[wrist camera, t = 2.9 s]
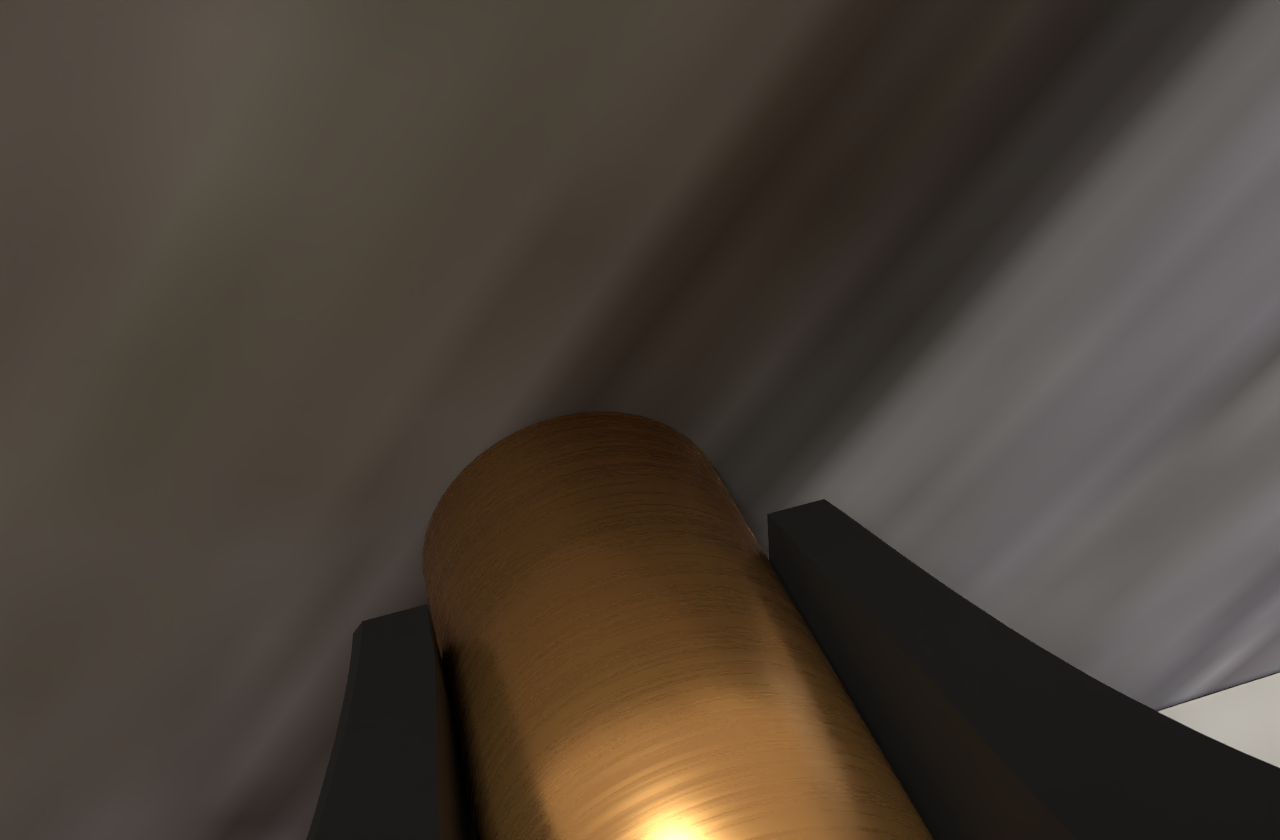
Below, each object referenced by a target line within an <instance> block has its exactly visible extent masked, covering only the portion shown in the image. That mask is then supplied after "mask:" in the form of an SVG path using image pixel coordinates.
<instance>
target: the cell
mask: <svg viewBox="0 0 1280 840" xmlns="http://www.w3.org/2000/svg"><path fill="white" fill-rule="evenodd" d="M423 572H424V577H425V583H426V588H427V593H428V598H429V603H430V609H431V614H432V619H433V624H434V629H435V634H436V639H437V644H438V648H439V651H440V655H441V659H442V663H443V669H444V674H445V679H446V684H447V689H448V694H449V699H450V704H451V709H452V714H453V719H454V724H455V730H456V735H457V741H458V748H459V756H460V761H461V766H462V772H463V777H464V782H465V788H466V793H467V798H468V803H469V808H470V813H471V818H472V823H473V829H474V834H475V839H476V840H934V839H933V838H932V836H931V834H930V832H929V831H928V829H927V827H926V826H925V824H924V822H923V821H922V819H921V817H920V816H919V814H918V812H917V810H916V809H915V807H914V805H913V804H912V802H911V800H910V799H909V797H908V795H907V794H906V792H905V790H904V788H903V787H902V785H901V783H900V782H899V780H898V778H897V777H896V775H895V773H894V772H893V770H892V768H891V766H890V765H889V763H888V761H887V760H886V758H885V756H884V755H883V753H882V751H881V750H880V748H879V746H878V744H877V743H876V741H875V739H874V738H873V736H872V734H871V733H870V731H869V729H868V728H867V726H866V724H865V722H864V721H863V719H862V717H861V716H860V714H859V712H858V711H857V709H856V707H855V706H854V704H853V702H852V701H851V699H850V697H849V695H848V694H847V692H846V690H845V689H844V687H843V685H842V684H841V682H840V680H839V679H838V677H837V675H836V673H835V672H834V670H833V668H832V667H831V665H830V663H829V662H828V660H827V658H826V657H825V655H824V653H823V651H822V650H821V648H820V646H819V645H818V643H817V641H816V640H815V638H814V636H813V635H812V633H811V631H810V629H809V628H808V626H807V624H806V623H805V621H804V619H803V618H802V616H801V614H800V613H799V611H798V609H797V607H796V606H795V604H794V602H793V601H792V599H791V597H790V596H789V594H788V592H787V591H786V589H785V587H784V585H783V584H782V582H781V580H780V579H779V577H778V575H777V574H776V572H775V570H774V569H773V567H772V565H771V563H770V562H769V560H768V558H767V557H766V555H765V553H764V552H763V550H762V548H761V547H760V545H759V543H758V541H757V540H756V538H755V536H754V535H753V533H752V531H751V530H750V528H749V526H748V525H747V523H746V521H745V519H744V518H743V516H742V514H741V513H740V511H739V509H738V508H737V506H736V504H735V503H734V501H733V499H732V497H731V496H730V494H729V492H728V491H727V489H726V487H725V486H724V484H723V482H722V481H721V479H720V477H719V476H718V474H717V472H716V470H715V469H714V467H713V465H712V464H711V462H710V461H709V460H708V458H707V457H706V456H705V454H704V453H703V452H702V451H701V450H700V449H699V448H698V447H697V446H696V445H695V444H694V443H693V442H692V441H691V440H690V439H688V438H687V437H685V436H684V435H682V434H681V433H679V432H678V431H676V430H675V429H673V428H671V427H669V426H666V425H664V424H662V423H660V422H658V421H654V420H651V419H648V418H645V417H642V416H637V415H631V414H625V413H615V412H590V413H578V414H573V415H567V416H562V417H557V418H554V419H550V420H547V421H543V422H540V423H537V424H534V425H532V426H530V427H527V428H525V429H523V430H520V431H518V432H516V433H514V434H512V435H510V436H509V437H507V438H505V439H503V440H501V441H500V442H498V443H496V444H495V445H493V446H492V447H491V448H489V449H488V450H486V451H485V452H484V453H482V454H481V455H479V456H478V457H477V458H476V459H475V460H474V461H473V462H472V463H470V464H469V465H468V466H467V467H466V468H465V469H464V470H463V471H462V472H461V473H460V474H459V476H458V477H457V478H456V479H455V480H454V481H453V482H452V484H451V485H450V486H449V488H448V489H447V491H446V492H445V494H444V495H443V497H442V498H441V500H440V501H439V503H438V505H437V507H436V509H435V511H434V513H433V515H432V517H431V520H430V523H429V526H428V529H427V532H426V536H425V542H424V548H423Z"/></svg>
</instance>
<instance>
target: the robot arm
mask: <svg viewBox="0 0 1280 840" xmlns="http://www.w3.org/2000/svg"><path fill="white" fill-rule="evenodd" d="M767 516H768V538H769V561H770V563H771V565H772V567H773V569H774V570H775V572H776V574H777V575H778V577H779V579H780V580H781V582H782V584H783V585H784V587H785V589H786V591H787V592H788V594H789V596H790V597H791V599H792V601H793V602H794V604H795V606H796V607H797V609H798V611H799V613H800V614H801V616H802V618H803V619H804V621H805V623H806V624H807V626H808V628H809V629H810V631H811V633H812V635H813V636H814V638H815V640H816V641H817V643H818V645H819V646H820V648H821V650H822V651H823V653H824V655H825V657H826V658H827V660H828V662H829V663H830V665H831V667H832V668H833V670H834V672H835V673H836V675H837V677H838V679H839V680H840V682H841V684H842V685H843V687H844V689H845V690H846V692H847V694H848V695H849V697H850V699H851V701H852V702H853V704H854V706H855V707H856V709H857V711H858V712H859V714H860V716H861V717H862V719H863V721H864V722H865V724H866V726H867V728H868V729H869V731H870V733H871V734H872V736H873V738H874V739H875V741H876V743H877V744H878V746H879V748H880V750H881V751H882V753H883V755H884V756H885V758H886V760H887V761H888V763H889V765H890V766H891V768H892V770H893V772H894V773H895V775H896V777H897V778H898V780H899V782H900V783H901V785H902V787H903V788H904V790H905V792H906V794H907V795H908V797H909V799H910V800H911V802H912V804H913V805H914V807H915V809H916V810H917V812H918V814H919V816H920V817H921V819H922V821H923V822H924V824H925V826H926V827H927V829H928V831H929V832H930V834H931V836H932V838H933V839H934V840H1280V768H1279V767H1277V766H1274V765H1272V764H1270V763H1267V762H1265V761H1262V760H1260V759H1258V758H1255V757H1253V756H1251V755H1248V754H1246V753H1243V752H1241V751H1239V750H1237V749H1235V748H1232V747H1230V746H1228V745H1226V744H1224V743H1221V742H1219V741H1217V740H1215V739H1213V738H1210V737H1208V736H1206V735H1204V734H1202V733H1200V732H1198V731H1195V730H1193V729H1191V728H1189V727H1187V726H1185V725H1183V724H1181V723H1179V722H1177V721H1175V720H1173V719H1171V718H1169V717H1167V716H1165V715H1163V714H1161V713H1159V712H1157V711H1155V710H1153V709H1151V708H1149V707H1147V706H1145V705H1143V704H1141V703H1139V702H1137V701H1135V700H1133V699H1131V698H1129V697H1127V696H1126V695H1124V694H1122V693H1120V692H1118V691H1116V690H1114V689H1113V688H1111V687H1109V686H1107V685H1105V684H1103V683H1101V682H1100V681H1098V680H1096V679H1094V678H1092V677H1091V676H1089V675H1087V674H1085V673H1084V672H1082V671H1080V670H1079V669H1077V668H1075V667H1073V666H1072V665H1070V664H1068V663H1067V662H1065V661H1063V660H1061V659H1060V658H1058V657H1056V656H1055V655H1053V654H1051V653H1050V652H1048V651H1046V650H1044V649H1043V648H1041V647H1039V646H1038V645H1036V644H1035V643H1033V642H1031V641H1030V640H1028V639H1027V638H1025V637H1023V636H1022V635H1020V634H1019V633H1017V632H1015V631H1014V630H1012V629H1011V628H1009V627H1007V626H1006V625H1004V624H1003V623H1001V622H1000V621H998V620H997V619H995V618H994V617H992V616H991V615H989V614H988V613H986V612H985V611H983V610H982V609H980V608H979V607H977V606H976V605H974V604H973V603H971V602H970V601H968V600H967V599H965V598H963V597H962V596H960V595H959V594H957V593H956V592H954V591H953V590H951V589H950V588H949V587H947V586H946V585H944V584H943V583H941V582H940V581H938V580H937V579H936V578H934V577H933V576H931V575H930V574H928V573H927V572H926V571H924V570H923V569H921V568H920V567H918V566H917V565H916V564H914V563H913V562H911V561H910V560H909V559H907V558H906V557H904V556H903V555H902V554H900V553H899V552H897V551H896V550H895V549H893V548H892V547H890V546H889V545H888V544H886V543H885V542H884V541H882V540H881V539H879V538H878V537H877V536H875V535H874V534H873V533H871V532H870V531H868V530H867V529H866V528H864V527H863V526H861V525H860V524H859V523H857V522H856V521H855V520H853V519H852V518H850V517H849V516H848V515H846V514H845V513H844V512H842V511H841V510H839V509H838V508H836V507H835V506H834V505H832V504H831V503H829V502H828V501H826V500H825V499H823V500H819V501H816V502H812V503H808V504H804V505H800V506H797V507H793V508H789V509H785V510H782V511H778V512H774V513H770V514H767ZM306 840H476V839H475V834H474V829H473V823H472V818H471V813H470V808H469V803H468V798H467V793H466V788H465V782H464V777H463V772H462V766H461V761H460V756H459V748H458V741H457V735H456V730H455V724H454V719H453V714H452V709H451V704H450V699H449V694H448V689H447V684H446V679H445V674H444V669H443V663H442V659H441V655H440V651H439V648H438V644H437V640H436V637H435V633H434V630H433V626H432V622H431V619H430V615H429V611H428V608H427V604H426V605H422V606H419V607H415V608H411V609H407V610H404V611H400V612H396V613H392V614H388V615H385V616H381V617H377V618H373V619H369V620H366V621H362V623H361V624H360V625H359V627H358V628H357V629H356V631H355V632H354V633H353V643H352V654H351V661H350V668H349V675H348V681H347V686H346V692H345V697H344V702H343V707H342V711H341V716H340V720H339V724H338V729H337V733H336V737H335V742H334V746H333V749H332V753H331V757H330V760H329V764H328V767H327V771H326V775H325V778H324V782H323V786H322V789H321V793H320V796H319V800H318V804H317V807H316V811H315V814H314V817H313V821H312V824H311V827H310V830H309V833H308V836H307V839H306Z"/></svg>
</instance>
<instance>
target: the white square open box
mask: <svg viewBox="0 0 1280 840" xmlns="http://www.w3.org/2000/svg"><path fill="white" fill-rule="evenodd" d="M1157 712H1159V713H1161V714H1163V715H1165V716H1167V717H1169V718H1171V719H1173V720H1175V721H1177V722H1179V723H1181V724H1183V725H1185V726H1187V727H1189V728H1191V729H1193V730H1195V731H1198V732H1200V733H1202V734H1204V735H1206V736H1208V737H1210V738H1213V739H1215V740H1217V741H1219V742H1221V743H1224V744H1226V745H1228V746H1230V747H1232V748H1235V749H1237V750H1239V751H1241V752H1243V753H1246V754H1248V755H1251V756H1253V757H1255V758H1258V759H1260V760H1262V761H1265V762H1267V763H1270V764H1272V765H1274V766H1277V767H1279V768H1280V673H1277V674H1274V675H1271V676H1267V677H1264V678H1261V679H1258V680H1255V681H1252V682H1249V683H1245V684H1242V685H1239V686H1236V687H1233V688H1230V689H1226V690H1223V691H1220V692H1217V693H1214V694H1211V695H1208V696H1204V697H1201V698H1198V699H1195V700H1192V701H1189V702H1185V703H1182V704H1179V705H1176V706H1173V707H1170V708H1167V709H1163V710H1160V711H1157Z"/></svg>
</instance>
